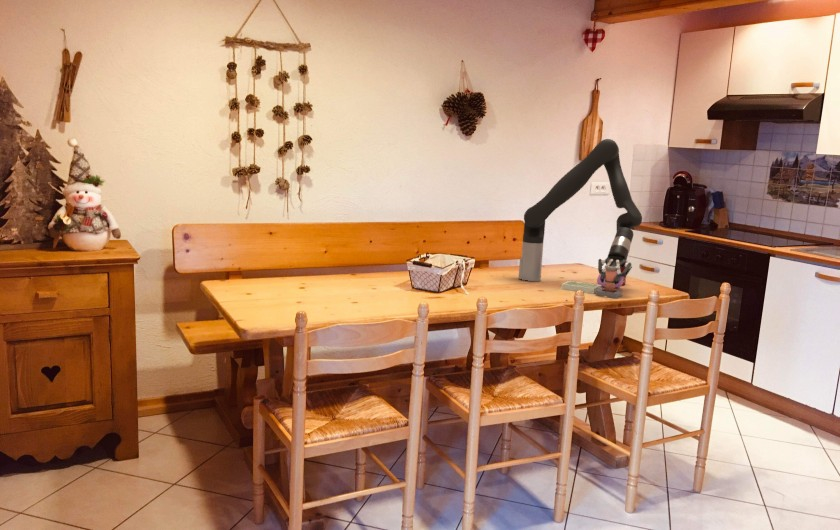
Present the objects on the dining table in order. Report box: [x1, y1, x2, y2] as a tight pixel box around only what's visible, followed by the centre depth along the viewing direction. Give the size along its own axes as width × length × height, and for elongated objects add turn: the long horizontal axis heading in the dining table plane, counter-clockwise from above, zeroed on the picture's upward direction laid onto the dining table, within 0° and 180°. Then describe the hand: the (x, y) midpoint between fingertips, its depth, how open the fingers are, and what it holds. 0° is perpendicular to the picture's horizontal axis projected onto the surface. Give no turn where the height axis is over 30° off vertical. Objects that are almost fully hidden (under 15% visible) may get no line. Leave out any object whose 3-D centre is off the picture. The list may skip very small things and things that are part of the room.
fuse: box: [603, 265, 617, 293], centre depth 287 cm, size 4×4×12 cm
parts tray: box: [560, 280, 602, 295], centre depth 298 cm, size 14×10×3 cm
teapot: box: [596, 268, 624, 289], centre depth 307 cm, size 10×15×9 cm
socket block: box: [594, 287, 623, 300], centre depth 288 cm, size 9×11×3 cm
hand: (608, 282), depth 286 cm, fingers open, 5 cm apart
